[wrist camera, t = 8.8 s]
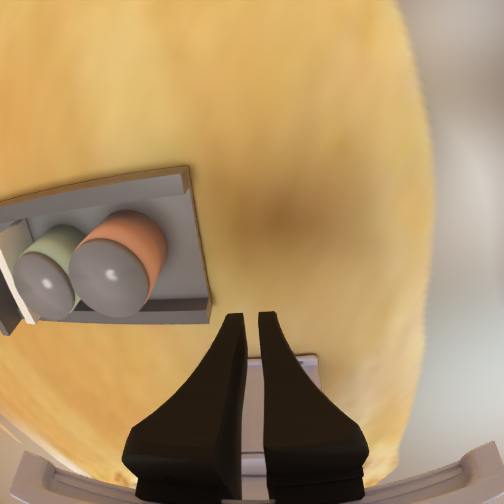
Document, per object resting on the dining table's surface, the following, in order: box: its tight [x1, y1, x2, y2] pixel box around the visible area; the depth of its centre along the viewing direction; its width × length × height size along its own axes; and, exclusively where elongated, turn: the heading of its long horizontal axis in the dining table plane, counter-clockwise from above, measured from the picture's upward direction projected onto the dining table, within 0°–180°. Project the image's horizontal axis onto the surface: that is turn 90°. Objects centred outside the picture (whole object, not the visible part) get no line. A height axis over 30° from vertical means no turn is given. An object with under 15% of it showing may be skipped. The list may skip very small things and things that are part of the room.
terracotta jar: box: [68, 210, 168, 318], centre depth 18 cm, size 5×5×4 cm
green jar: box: [13, 224, 87, 320], centre depth 18 cm, size 5×5×4 cm
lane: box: [0, 165, 212, 336], centre depth 19 cm, size 19×10×4 cm, turn 95°
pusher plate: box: [0, 218, 41, 324], centre depth 19 cm, size 1×7×4 cm, turn 5°
